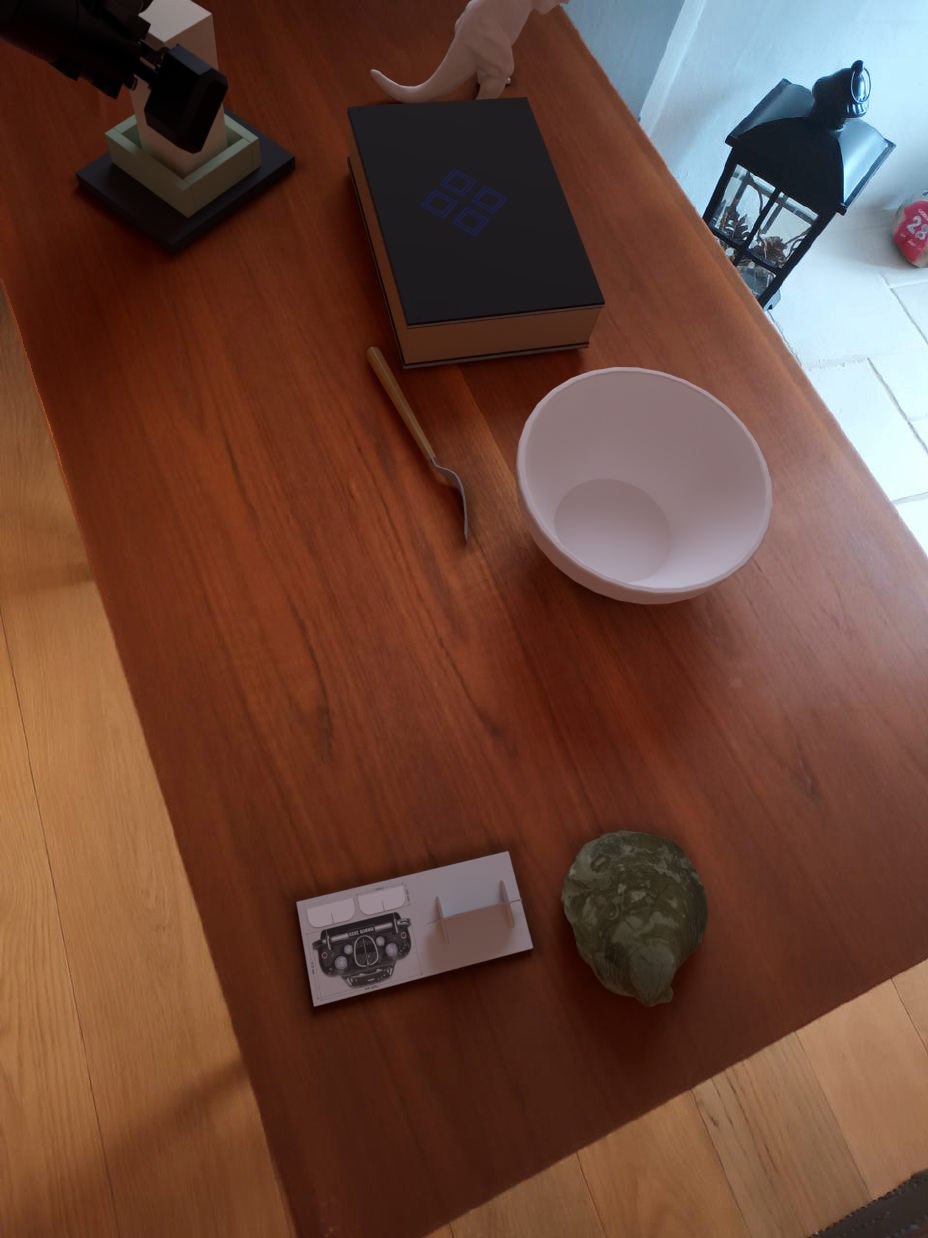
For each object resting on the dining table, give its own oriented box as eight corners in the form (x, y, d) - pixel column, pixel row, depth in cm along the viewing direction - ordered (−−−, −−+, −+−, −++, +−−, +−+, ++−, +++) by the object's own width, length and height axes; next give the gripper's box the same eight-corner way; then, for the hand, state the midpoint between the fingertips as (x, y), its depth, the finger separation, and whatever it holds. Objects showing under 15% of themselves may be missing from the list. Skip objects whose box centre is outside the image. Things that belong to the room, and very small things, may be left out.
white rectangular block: (189, 192, 79) (163, 41, 67) (145, 163, 80) (111, 9, 68) (230, 163, 81) (212, 13, 69) (186, 135, 82) (161, -19, 70)
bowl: (552, 674, 67) (584, 629, 59) (460, 467, 74) (476, 398, 65) (762, 601, 72) (820, 550, 64) (660, 413, 79) (700, 342, 70)
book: (514, 156, 89) (527, 95, 83) (586, 353, 80) (606, 301, 74) (346, 168, 85) (347, 105, 79) (402, 375, 76) (407, 323, 70)
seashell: (685, 814, 63) (736, 909, 54) (692, 894, 66) (741, 997, 56) (546, 840, 63) (573, 940, 53) (559, 919, 66) (586, 1027, 56)
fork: (357, 346, 75) (464, 532, 69) (376, 336, 75) (484, 521, 69) (363, 363, 77) (466, 544, 71) (382, 354, 77) (486, 534, 71)
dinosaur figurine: (539, 57, 95) (572, -96, 81) (569, 119, 92) (608, -30, 78) (361, 73, 90) (365, -87, 77) (386, 139, 87) (395, -16, 74)
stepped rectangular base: (174, 255, 78) (165, 217, 74) (78, 183, 80) (65, 143, 76) (295, 166, 84) (293, 127, 80) (204, 101, 86) (198, 60, 82)
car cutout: (507, 851, 62) (519, 842, 58) (532, 948, 60) (546, 946, 56) (296, 902, 59) (293, 896, 55) (314, 1006, 57) (312, 1008, 52)
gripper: (190, -41, 57) (310, 50, 71) (-11, -178, 59) (144, -64, 74) (125, 126, 61) (251, 180, 75) (-60, -9, 63) (95, 68, 78)
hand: (186, 88), depth 75 cm, fingers closed on white rectangular block, 5 cm apart
